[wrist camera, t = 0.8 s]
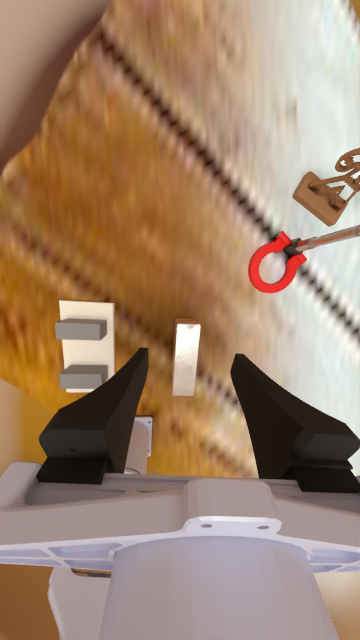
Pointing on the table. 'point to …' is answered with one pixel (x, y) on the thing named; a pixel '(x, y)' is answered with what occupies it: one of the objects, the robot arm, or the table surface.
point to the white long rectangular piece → (184, 356)
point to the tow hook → (292, 255)
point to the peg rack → (86, 344)
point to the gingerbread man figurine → (328, 190)
